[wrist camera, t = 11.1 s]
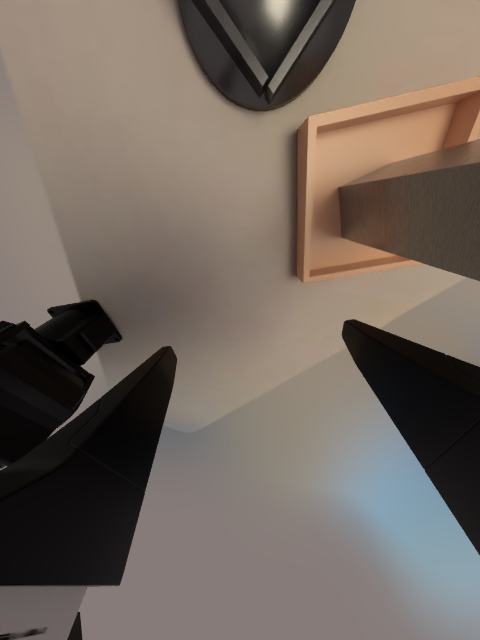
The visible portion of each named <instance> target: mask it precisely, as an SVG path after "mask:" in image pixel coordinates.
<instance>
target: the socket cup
mask: <svg viewBox="0 0 480 640" xmlns="http://www.w3.org/2000/svg"><path fill="white" fill-rule="evenodd" d="M355 1H356V0H178V2H179V6H180V10H181V14H182V18H183V21H184V25H185V28H186V31H187V34H188V37H189V40H190V42H191V45H192V47H193V49H194V52H195V54H196V56H197V58H198V60H199V62H200V64H201V66H202V68H203V70H204V71H205V73H206V74H207V76H208V77H209V79H210V80H211V82H212V83H213V84H214V85H215V86H216V87H217V89H218V90H219V91H220V92H221V93H222V94H223V95H225V96H226V97H227V98H228V99H229V100H231V101H232V102H234V103H235V104H237V105H239V106H241V107H244V108H246V109H250V110H255V111H267V110H273V109H277V108H279V107H282V106H284V105H286V104H288V103H290V102H291V101H293V100H294V99H296V98H297V97H298V96H299V95H301V94H302V93H303V92H304V91H305V90H306V89H307V88H308V87H309V86H310V85H311V84H312V83H313V81H314V80H315V79H316V77H317V76H318V75H319V74H320V72H321V71H322V69H323V68H324V66H325V64H326V63H327V61H328V60H329V58H330V57H331V55H332V53H333V52H334V50H335V48H336V46H337V44H338V42H339V40H340V39H341V37H342V35H343V32H344V30H345V28H346V25H347V23H348V21H349V18H350V16H351V13H352V10H353V7H354V4H355Z"/></svg>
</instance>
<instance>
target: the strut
mask: <svg viewBox="0 0 480 640" xmlns="http://www.w3.org/2000/svg"><path fill="white" fill-rule="evenodd" d="M338 193H339V207H340V221H341V235H342V238H343V239H346V240H349V241H353V242H356V243H359V244H362V245H365V246H369V247H372V248H375V249H378V250H382V251H385V252H388V253H391V254H394V255H398V256H401V257H404V258H407V259H410V260H414V261H417V262H420V263H423V264H427V265H430V266H433V267H436V268H439V269H443V270H446V271H449V272H452V273H455V274H459V275H462V276H465V277H468V278H472V279H475V280H478V281H480V139H478V140H474V141H470V142H467V143H463V144H459V145H456V146H452V147H448V148H445V149H441V150H437V151H434V152H430V153H426V154H423V155H419V156H415V157H411V158H408V159H404V160H400V161H397V162H393V163H391V164H389V165H386V166H384V167H382V168H380V169H377V170H375V171H373V172H371V173H369V174H366V175H364V176H362V177H360V178H357V179H355V180H353V181H351V182H348V183H346V184H344V185H342V186H340V187H338Z"/></svg>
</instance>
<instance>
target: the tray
mask: <svg viewBox="0 0 480 640" xmlns="http://www.w3.org/2000/svg"><path fill="white" fill-rule="evenodd" d="M479 132H480V76H479V77H475V78H470V79H466V80H462V81H458V82H453V83H449V84H445V85H441V86H436V87H432V88H428V89H423V90H419V91H415V92H411V93H406V94H402V95H398V96H394V97H389V98H385V99H381V100H377V101H372V102H368V103H364V104H360V105H355V106H351V107H347V108H343V109H338V110H334V111H330V112H325V113H321V114H317V115H313V116H309V117H308V118H307V119H306V120H305V121H304V123H303V124H302V125H301V126H300V128H299V129H298V163H297V277H298V278H299V279H300V280H301V281H302V282H303V283H309V282H316V281H322V280H328V279H334V278H340V277H346V276H352V275H358V274H364V273H370V272H376V271H382V270H388V269H395V268H401V267H407V266H413V265H419V264H423V263H420V262H417V261H414V260H410V259H407V258H404V257H401V256H398V255H394V254H391V253H388V252H385V251H382V250H378V249H375V248H372V247H369V246H365V245H362V244H359V243H356V242H353V241H349V240H346V239H343V238H342V235H341V221H340V207H339V193H338V187H340V186H342V185H344V184H346V183H348V182H351V181H353V180H355V179H357V178H360V177H362V176H364V175H366V174H369V173H371V172H373V171H375V170H377V169H380V168H382V167H384V166H386V165H389V164H391V163H393V162H397V161H400V160H404V159H408V158H411V157H415V156H419V155H423V154H426V153H430V152H434V151H437V150H441V149H445V148H448V147H452V146H456V145H459V144H463V143H467V142H470V141H474V140H477V137H478V135H479Z"/></svg>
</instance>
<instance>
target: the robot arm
mask: <svg viewBox="0 0 480 640" xmlns="http://www.w3.org/2000/svg"><path fill="white" fill-rule="evenodd" d="M93 304H94V305H93ZM47 311H48V313H49V314H50V315H51V316H52V317H53V318H52V319H50V320H49V321H47V322H46V323H44V324H42V325H41V326H39V327H38V328H36V329H33V328H31V327H30V325H29V324H28V323H27V322H26V321H23V322H21V323H18V324H16V325H15V324H14V323H9V322H5V321H1V322H0V469H1V468H3V467H5V466H8V467H6V468H4V469H2V470H0V640H82V631H81V621H80V620H81V619H80V612H78V610H79V608H80V605H81V603H82V600H83V597H84V595H85V592H86V590H87V587H99V586H119V585H120V583H121V580H122V576H123V573H124V569H125V566H126V562H127V558H128V554H129V550H130V547H131V543H132V539H133V536H134V532H135V528H136V524H137V521H138V517H139V513H140V510H141V506H142V502H143V498H144V495H145V490H146V487H147V482H148V479H149V475H150V472H151V468H152V464H153V460H154V457H155V453H156V449H157V445H158V441H159V438H160V434H161V430H162V427H163V423H164V419H165V415H166V412H167V408H168V404H169V400H170V397H171V393H172V389H173V384H174V378H175V371H176V365H177V357H176V355H175V353H174V351H173V349H172V347H171V346H166V347H162V348H161V349H159V350H158V351H157V352H156V353H155V354H153V355H152V356H151V357H150V358H148V359H147V360H146V361H145V362H144V363H142V364H141V365H140V366H139V367H137V368H136V369H135V370H134V371H133V372H131V373H130V374H129V375H128V376H126V377H125V378H124V379H123V380H122V381H120V382H119V383H118V384H117V385H115V386H114V387H113V388H112V389H111V390H109V391H108V392H107V393H106V394H105V395H103V396H102V397H101V399H98V400H97V401H96V402H95V403H93V405H91V406H90V407H89V408H87V409H86V410H85V411H84V412H82V413H81V414H80V415H79V416H77V417H76V418H75V419H73V420H72V421H71V422H69V423H68V424H67V425H65V426H64V427H63V428H61V429H60V430H59V431H57V432H56V433H55V434H53V435H52V436H51V437H49V436H50V435H51V434H52V432H53V431H54V430H55V429H56V428H58V427H59V426H60V425H62V424H63V423H64V422H65V421H66V420H68V419H69V418H70V417H71V416H72V415H73V414H74V412H75V411H76V410H77V409H78V408H79V406H80V404H81V403H82V401H83V398H84V397H85V395H86V393H87V391H88V389H89V387H90V385H91V383H92V381H93V379H94V377H95V376H94V375H92V374H90V373H88V372H87V371H86V370H85V369H83V368H82V367H81V365H83V364H85V363H86V362H87V361H88V360H89V358H90V357H91V356H92V355H93V354H94V353H95V352H97V351H98V350H99V349H100V348H101V347H102V346H103V345H104V344H108V343H115V342H120V341H121V340H122V337H121V335H120V334H119V332H118V331H117V330H116V328H115V327H114V325H113V324H112V322H111V321H110V320H109V318H108V317H107V315H106V314H105V312H104V311H103V309H102V308H101V307H100V305H99V304H98V302H96V301H94V300H90V301H84V302H79V303H73V304H67V305H62V306H56V307H51V308H49V309H48V310H47ZM342 338H343V340H344V342H345V344H346V346H347V348H348V350H349V352H350V354H351V356H352V358H353V360H354V362H355V364H356V365H357V367H358V369H359V370H360V372H361V373H362V374H363V376H364V378H365V379H366V381H367V382H368V384H369V385H370V387H371V388H372V390H373V392H374V393H375V394H376V396H377V398H378V399H379V401H380V402H381V404H382V405H383V407H384V409H385V410H386V412H387V413H388V415H389V416H390V418H391V419H392V421H393V422H394V424H395V425H396V427H397V428H398V430H399V431H400V433H401V435H402V436H403V438H404V439H405V441H406V442H407V444H408V445H409V447H410V449H411V450H412V451H413V453H414V455H415V456H416V458H417V459H418V461H419V462H420V464H421V465H422V467H423V468H424V469H425V472H426V473H427V475H428V477H429V478H430V480H431V481H432V483H433V484H434V486H435V487H436V489H437V490H438V492H439V493H440V495H441V497H442V498H443V500H444V501H445V503H446V504H447V506H448V507H449V509H450V510H451V512H452V513H453V515H454V516H455V518H456V519H457V521H458V523H459V524H460V526H461V527H462V529H463V530H464V532H465V533H466V535H467V536H468V538H469V540H470V541H471V543H472V544H473V546H474V547H475V549H476V550H477V552H478V553H479V555H480V367H478V366H475V365H473V364H470V363H467V362H465V361H462V360H459V359H457V358H454V357H451V356H449V355H445V354H444V353H441V352H438V351H436V350H433V349H430V348H428V347H425V346H423V345H420V344H418V343H415V342H412V341H410V340H407V339H404V338H402V337H399V336H397V335H394V334H391V333H389V332H386V331H383V330H381V329H378V328H376V327H373V326H370V325H368V324H365V323H363V322H360V321H357V320H355V319H352V320H346V321H345V322H344V325H343V330H342ZM48 437H49V438H48ZM47 438H48V439H47ZM46 439H47V440H46Z"/></svg>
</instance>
